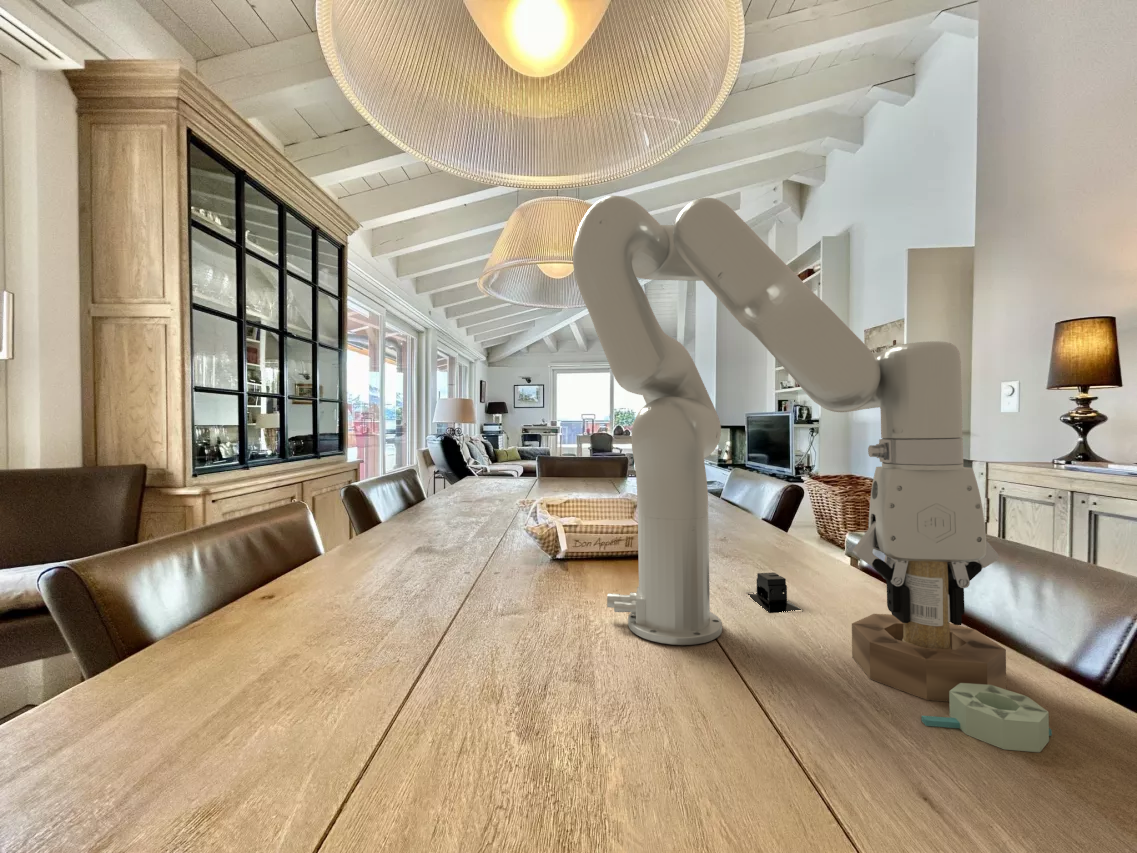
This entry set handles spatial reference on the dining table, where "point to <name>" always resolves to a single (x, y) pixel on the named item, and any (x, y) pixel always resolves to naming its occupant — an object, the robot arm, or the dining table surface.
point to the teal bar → (946, 722)
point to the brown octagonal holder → (925, 658)
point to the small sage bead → (1000, 717)
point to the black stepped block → (772, 593)
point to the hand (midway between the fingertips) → (925, 617)
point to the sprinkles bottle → (928, 605)
